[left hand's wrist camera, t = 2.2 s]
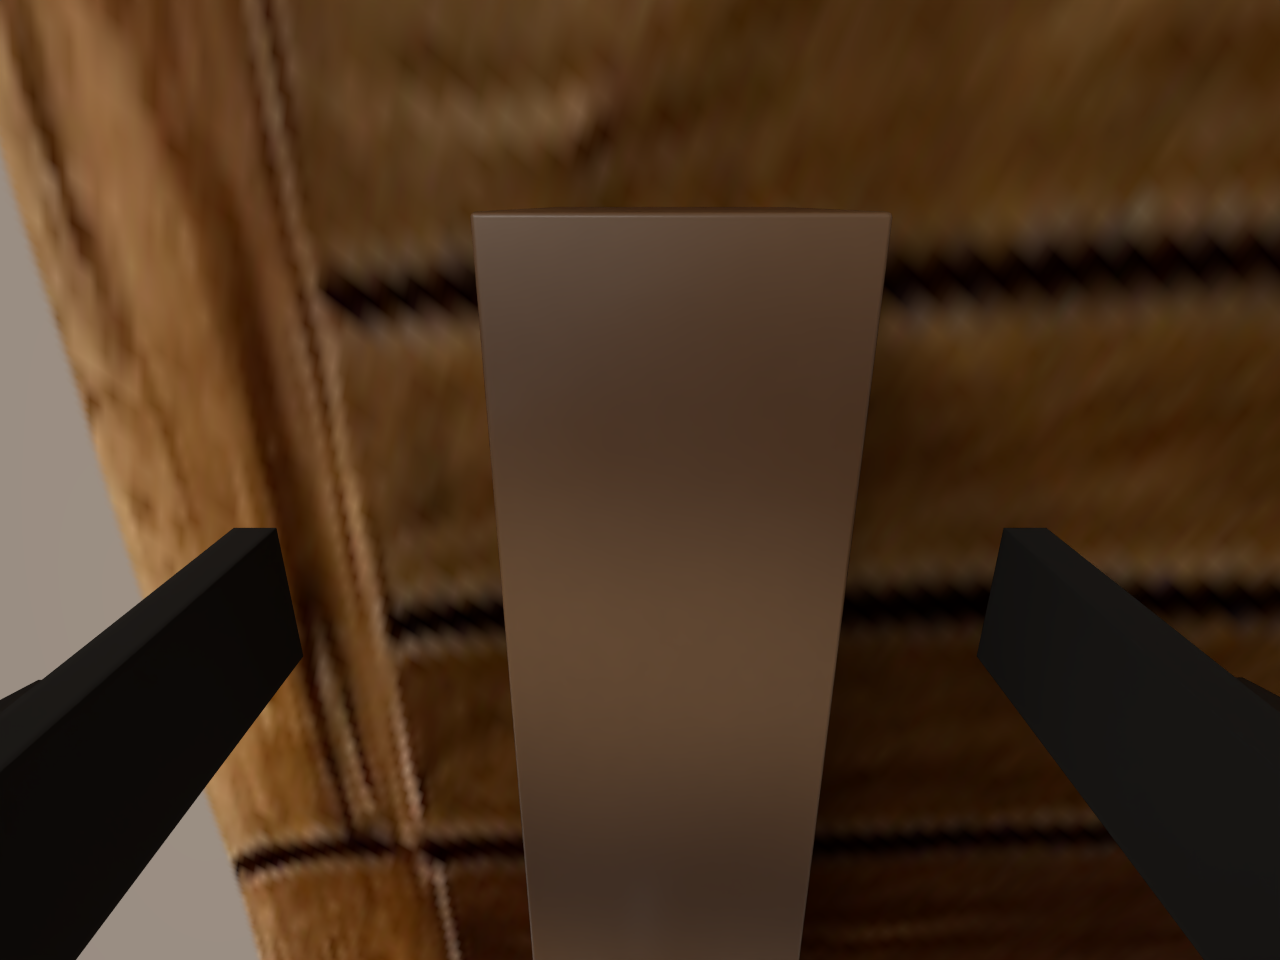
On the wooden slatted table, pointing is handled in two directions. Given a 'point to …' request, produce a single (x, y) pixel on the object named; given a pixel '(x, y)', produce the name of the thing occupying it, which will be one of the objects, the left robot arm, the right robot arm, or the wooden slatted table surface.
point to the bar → (674, 555)
